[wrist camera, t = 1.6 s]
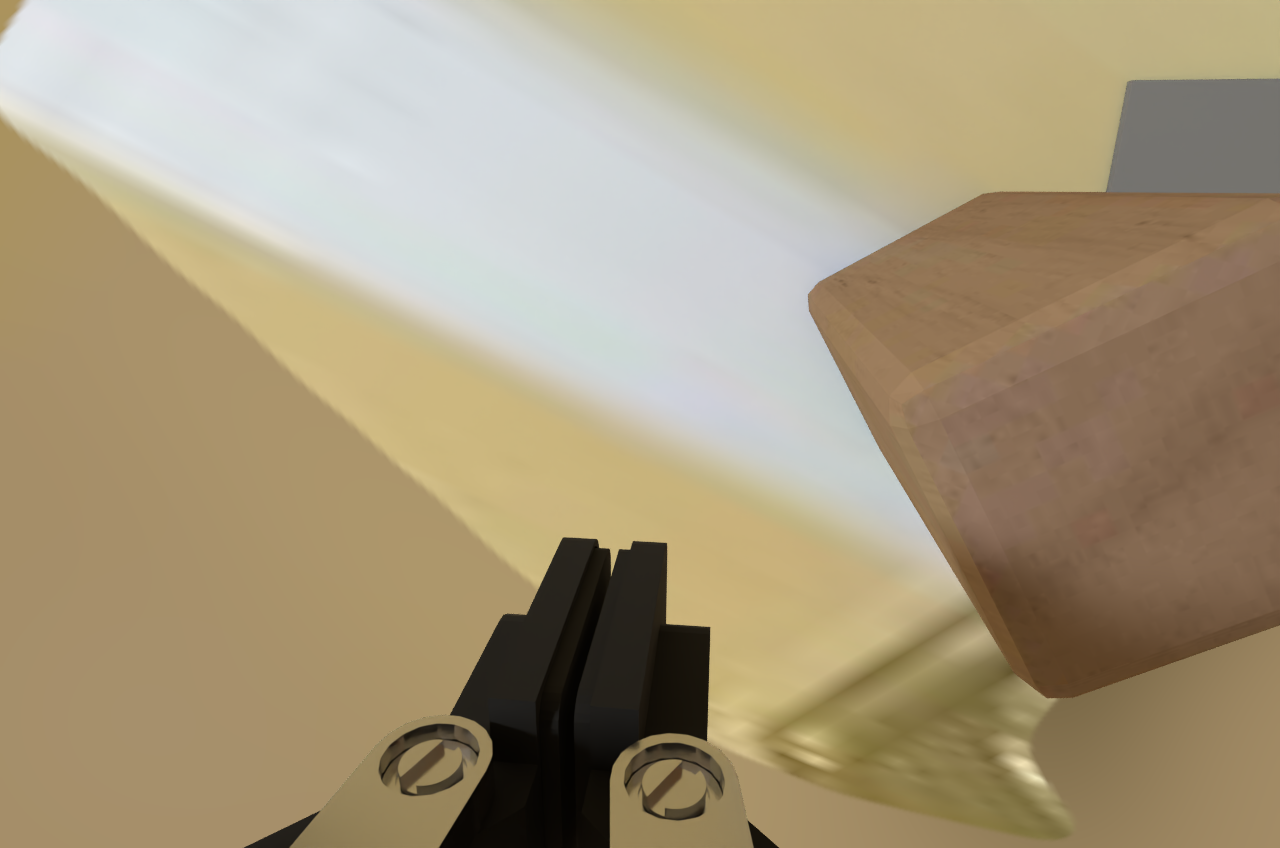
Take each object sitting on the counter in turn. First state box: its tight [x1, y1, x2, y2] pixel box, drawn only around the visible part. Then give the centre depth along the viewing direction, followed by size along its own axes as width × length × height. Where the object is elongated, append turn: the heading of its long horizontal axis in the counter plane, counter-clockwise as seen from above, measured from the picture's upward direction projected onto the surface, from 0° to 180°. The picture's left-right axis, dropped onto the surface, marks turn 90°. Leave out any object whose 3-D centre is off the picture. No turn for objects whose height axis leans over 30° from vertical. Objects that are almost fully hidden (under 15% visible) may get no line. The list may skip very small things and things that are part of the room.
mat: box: [1106, 79, 1280, 193], centre depth 34 cm, size 22×16×1 cm
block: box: [808, 192, 1280, 698], centre depth 26 cm, size 10×10×20 cm
